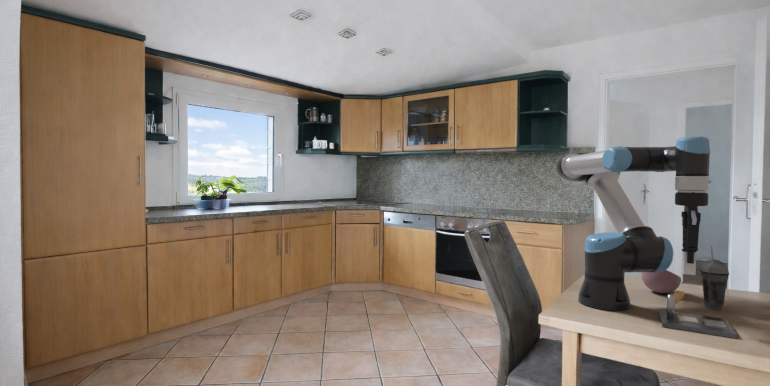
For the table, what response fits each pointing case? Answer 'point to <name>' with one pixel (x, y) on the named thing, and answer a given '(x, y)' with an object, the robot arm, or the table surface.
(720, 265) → the beverage cup
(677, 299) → the wooden lever handle
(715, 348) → the table surface
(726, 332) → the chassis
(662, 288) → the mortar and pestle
